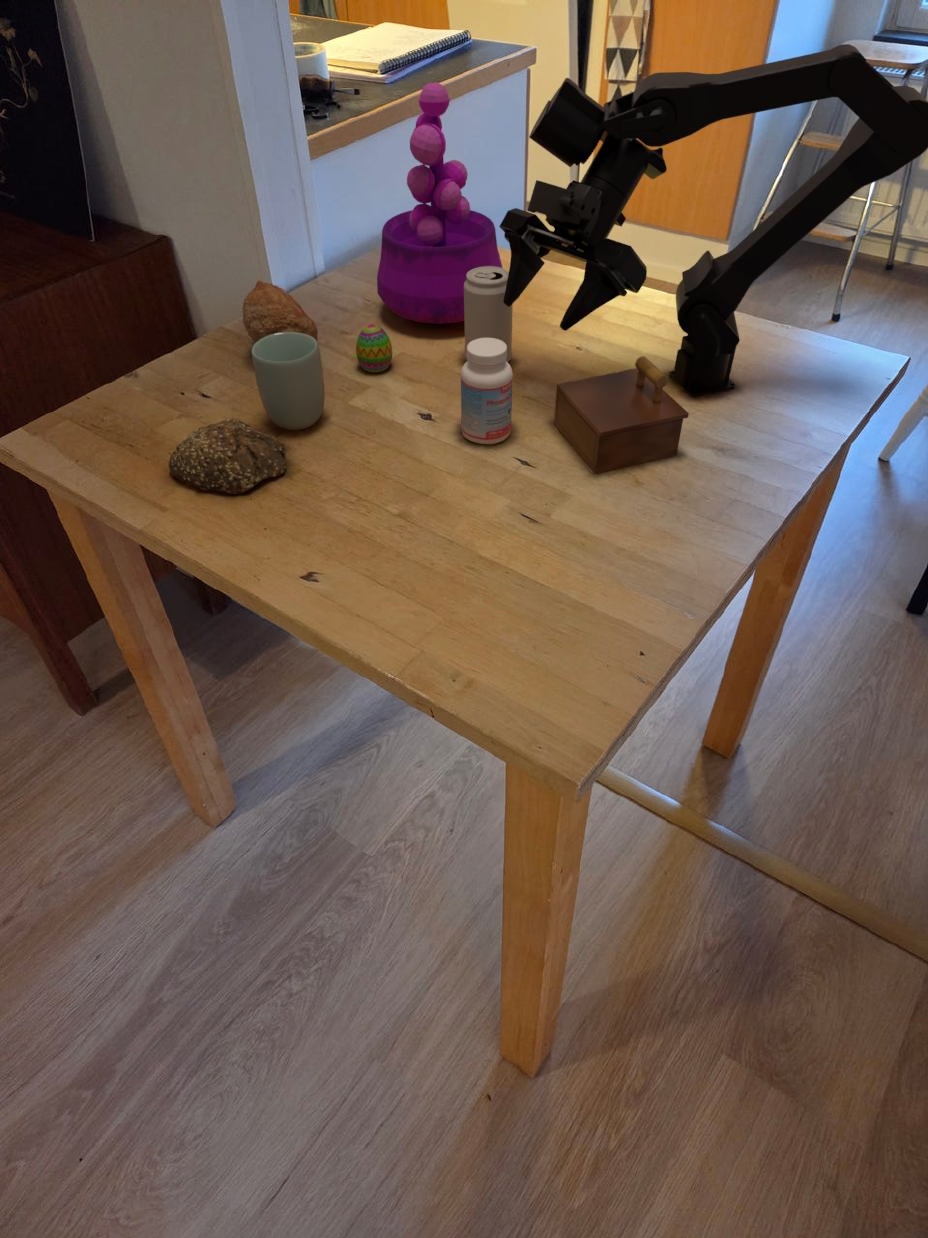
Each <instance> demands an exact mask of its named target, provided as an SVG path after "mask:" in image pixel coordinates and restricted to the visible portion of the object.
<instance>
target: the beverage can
mask: <svg viewBox="0 0 928 1238" xmlns="http://www.w3.org/2000/svg"><path fill="white" fill-rule="evenodd" d="M508 274H509V270H507V269H506V268H504V267H502V268H500V267H494V266H484V267H478V268H474V269H472V270H470V271H469V272H468V273H467V279H466V281H465V283H464V321H463V322H464V357H465V359H466V362H467V361H468V360H467V356H466V355H467V345H468V344H469V343H470V342H471V341H473V340H475V339H479V338H495V339H499V340H501V341H503V342H504V343H505V344H506V345H507V359H506V362H507V363H509V361H510V360H511V358H512V352H513V351H512V350H513V311H514V310H513V309H514V306H513V304H514V303H513V304H512V305H511V306H510V307H508V306H506V305H505V304H504V302H503V300H504V295H505V290H506V285H507V280H508Z"/></svg>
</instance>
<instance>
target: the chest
mask: <svg viewBox="0 0 928 1238" xmlns="http://www.w3.org/2000/svg"><path fill="white" fill-rule="evenodd" d="M554 403H555V404H554V415H553V416H554V420H553V424H554V426H555V427H556V428H557V429H558V430H559V432H560V433H561V434H562V436H564V438H565V439H566V440H567V441H568V443H569V444H570V445H571V446H572V447H573V449H575V451H576V452H577V453H578V455H579V456H580V457H581V458H582V459H583V460H584V462H585V463H586V464H587V466H588V467H589V468H590V469H591V470H592V471H593V473H594V474H600V473H604V472H605V473H606V472H610V471H613V470H617V469H622V468H626V467H631V466H636V465H639V464H643V463H649V462H652V461H656V460H657V461H658V460H661V459H665V458H669V457H674V456H677V454H678V450H679V444H680V438H681V434H682V428H683V423H684V419H680V420H675V421H671V422H666V423H662V424H657V425H653V426H648V427H643V428H639V429H634V430H630V431H625V432H621V433H616V434H611V435H607V436H602V437H599V436H598V435H597V433H596V432H595V431H594V430H593V429H592V428H591V427H590V426H589V424H588V423H587V422H586V421H585V420H584V419H583V418H582V417H581V415H580V414H579V413H578V412H577V411H576V410H575V409H574V408H573V406H572V405H571V404H570V403H569V402H568V401H567V400H566V399H565V397H564V396H563V395H562V394H561V393H560V392H559V391H558V390H557V388H555V402H554Z"/></svg>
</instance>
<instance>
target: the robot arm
mask: <svg viewBox="0 0 928 1238" xmlns="http://www.w3.org/2000/svg"><path fill="white" fill-rule="evenodd" d="M830 98H838V99H839V100H840V101H841V102H842V103H843V104H844V105H846V107H848V108H849V109H850V110H851V112H853V113H854V114H855V115H856V116H857V117H858V119H857V120H856V121H855V122H854V124H853V125H852V126H851V128H850V129H849V131H848V133H847V135H846V136H845V138H844V139H843V141H842V143H841V145H840V146H839V148H838V150H837V151H836V152H835V154H834V155H833V156H832V157H831V158H830V159H829V160H828V161H827V162H825V164H824V165H822V167H821V168H819V169H818V170H817V171H816V172H815V173H814V174H812V176H811V177H809V179H807V180H806V181H805V182H804V183H803V184H802V185H800V187H799V188H798V189H796V191H794V192H793V193H792V194H791V195H790V196H789V197H788V198H787V199H786V200H785V201H783V202H782V203H781V204H780V205H779V206H778V207H777V208H776V209H775V210H774V211H773V212H772V213H770V214H769V215H768V216H767V217H766V218H765V219H764V220H763V221H762V222H760V224H759V225H758V226H756V228H754V229H753V230H752V231H751V232H750V233H748V235H747V236H746V237H745V238H743V240H742V241H740V242H739V243H738V244H737V245H736V246H735V247H734V248H733V249H731V250H730V251H728V252H727V253H724V254H722V255H719V256H717V257H715V258H714V256H713V255H712V253H711V252H710V250H706V251H705V252H704V253H703V254H702V255H701V256H700V257H699V259H698V260H697V261H696V262H695V264H694V265H692V266H691V267H690V268H688V269H685V270H683V271H682V272H681V277H682V279H681V281H679V283H678V285H677V287H676V291H675V306H676V307H675V308H676V319H677V321H678V325H679V327H680V329H681V330H682V332H683V333H685V334H686V335H683V336H682V338H681V344H680V348H679V349H677V352H676V358H675V364H674V370H670V371H669V372H668V378H669V379H672V380H673V381H674V382H675V383H676V385H678V386H679V387H680V388H681V389H682V390H683V391H685V392H686V393H687V394H688V395H689V396H690V397H692V398H698V397H703V396H709V395H712V394H713V395H714V394H718V393H723V392H727V391H732V390H735V389H736V383H735V382H734V381H732V380H731V379H730V377H731V373H732V369H733V368H732V367H733V364H734V359H735V355H736V350H737V346H738V345H739V343H740V341H741V340H740V334H739V329H738V325H737V320H736V315H735V312H736V310H737V309H738V308H739V306H740V304H741V303H742V301H743V299H744V297H745V296H746V294H747V292H748V291H749V289H750V288H751V286H752V285H753V284H754V282H755V281H756V280H758V279H759V278H760V277H762V275H763V274H765V273H766V272H767V271H768V270H769V269H771V267H772V266H773V265H775V264H776V263H777V262H778V261H780V259H782V258H783V256H785V255H786V254H787V253H789V251H791V250H792V249H793V248H794V247H795V246H796V245H798V243H800V242H801V241H802V240H803V239H804V238H806V236H808V235H809V234H810V233H811V232H813V230H815V228H817V227H818V226H819V225H820V224H822V222H824V221H825V220H826V219H827V218H828V217H830V216H831V215H832V214H833V213H834V212H835V211H836V210H837V209H839V207H841V206H842V205H843V204H844V203H846V201H848V199H850V198H851V197H852V196H853V195H854V194H855V193H857V192H858V191H859V190H861V189H862V188H864V187H866V186H868V185H871V184H874V183H875V182H878V181H880V180H882V179H884V178H887V177H889V176H892V175H893V174H895V173H896V172H898V171H900V170H901V169H902V168H904V167H905V166H907V165H909V164H910V163H911V162H913V161H915V160H916V159H918V158H920V157H921V156H922V155H923V154H924V153H925V152H926V151H927V150H928V100H927V99H926V98H925V97H924V96H923V95H922V94H921V92H919V91H918V90H917V89H916V88H915V87H912V86H909V85H896V86H895V85H893V84H892V83H891V82H890V81H889V79H887V78H886V77H884V75H883V74H881V72H879V71H878V70H877V69H876V68H875V67H873V65H871V64H870V63H869V62H868V61H867V59H866V57H865V56H864V55H863V54H862V53H861V52H860V51H859V49H858V48H857V47H856V46H854V45H852V44H849V43H845V44H843V43H842V44H839V45H836V46H834V47H833V48H831V49H827V50H823V51H819V52H814V53H809V54H805V55H799V56H794V57H791V58H786V59H781V60H776V61H772V62H767V63H762V64H758V65H757V64H756V65H754V66H747V67H743V68H739V69H734V70H729V71H726V72H721V73H703V72H701V73H700V72H691V71H672V72H671V71H669V72H667V71H665V72H655V73H651V74H650V75H647V76H645V77H644V78H643V79H642V80H641V81H640V82H639V83H638V85H637V86H636V88H635V90H633V91H632V92H629V93H626V94H624V95H622V96H620V97H616V98H613V99H612V100H610V101H607V102H605V103H604V104H603V105H601V104H600V103H598V102H597V101H596V100H595V99H593V98H592V97H591V96H589V95H588V94H587V93H586V92H584V91H583V90H582V89H581V88H580V86H579V85H578V84H577V83H576V82H575V81H573V80H572V79H571V78H569V77H565V78H564V79H563V81H562V83H561V85H560V86H559V87H558V89H557V90H556V92H554V94H553V96H552V97H551V99H550V100H547V102H546V104H545V105H544V107H543V109H542V111H541V113H540V114H539V116H538V118H537V120H536V121H535V124H534V125H533V127H532V129H531V131H530V134H529V136H528V138H529V139H530V140H532V141H533V142H534V143H536V144H537V145H539V146H540V147H541V148H543V149H544V150H545V151H547V152H548V153H549V154H551V155H552V156H553V157H555V158H557V159H558V160H560V162H562V163H563V164H565V165H566V166H567V167H568V168H571V167H573V165H575V166H577V167H579V166H580V164H581V165H585V164H586V163H587V161H588V160H589V158H591V156H592V154H593V153H594V151H595V150H596V149H597V147H598V145H599V143H600V141H601V142H602V143H601V145H600V147H598V148H599V149H598V150H597V152H596V154H595V156H594V157H593V159H592V161H591V163H590V165H588V166H589V167H588V168H587V170H586V171H585V174H584V175H583V177H582V178H581V180H580V181H577V180H572V181H571V182H569V183H568V185H567V186H566V188H565V187H561V186H558V185H555V184H552V183H548V182H545V181H541V180H538V179H536V180H535V183H534V186H533V190H532V192H531V196H530V200H529V203H528V207H527V210H523V209H520V208H517V207H515V208H511V209H509V210H507V211H506V214H505V215H504V217H503V219H502V221H501V223H500V224H499V226H498V227H499V229H500V230H502V231H503V232H504V239H505V240H506V241H507V243H509V250H510V261H509V269H508V271H509V274H508V280H507V285H506V290H505V295H504V300H503V302H504V304H505V305H506V306H508V307H510V306H511V305H512V304H514V303H515V302H516V301H517V300H518V299H519V297H520V296H521V295H522V293H523V292H524V291H525V290H526V289H527V287H528V286H529V284H530V283H531V282H532V281H533V279H534V278H535V277H536V275H538V273H539V271H541V270H542V268H543V266H544V265H545V264H546V263H545V261H544V260H543V259H542V258H543V257H545V256H548V255H549V253H550V252H551V251H553V252H556V253H558V254H561V255H563V256H567V257H569V258H573V259H574V260H578V261H580V262H582V263H583V262H584V263H585V267H584V274H583V280H582V282H581V284H580V286H579V287H578V289H577V291H576V292H575V293H574V296H573V297H572V300H571V302H570V303H569V305H568V307H567V309H566V310H565V312H564V314H563V317H562V319H561V321H560V323H559V328H560V329H561V330H562V331H565V332H566V331H568V330H570V329H572V327H574V326H575V325H576V324H578V323H580V322H581V321H582V320H584V319H585V318H586V317H588V316H589V315H590V314H591V313H593V312H595V311H596V310H598V309H599V308H600V307H602V306H604V305H606V304H607V303H609V302H610V301H612V300H614V299H615V298H617V297H626V295H627V294H628V291H629V292H631V293H635V294H638V293H639V292H640V290H641V289H642V287H643V286H644V284H645V282H646V280H647V275H648V270H647V266H646V264H645V263H644V262H643V260H642V259H641V257H640V256H639V255H638V254H637V252H636V250H635V249H634V248H633V247H632V245H629V244H627V243H623V242H621V241H617V240H613V239H611V238H608V237H609V235H610V233H611V232H612V230H613V228H614V227H615V226H618V227H623V225H624V223H625V221H626V220H627V218H626V216H625V215H624V214H623V211H624V210H625V207H626V205H627V204H628V202H629V200H630V198H631V197H632V195H633V194H634V191H635V190H636V188H637V186H638V185H639V183H640V182H641V180H642V178H643V176H644V175H646V176H647V177H648V178H649V179H651V180H655V179H656V178H659V177H660V176H662V175H663V174H665V173H667V172H668V171H667V170H668V169H667V168H668V167H667V165H666V161H665V159H664V148H663V146H666V145H669V144H672V143H674V142H677V141H679V140H683V139H684V138H687V137H689V136H693V135H694V134H695V133H697V132H699V131H701V130H703V129H705V128H706V127H708V126H710V125H712V124H714V123H717V122H719V121H722V120H726V119H727V120H728V119H732V118H738V117H742V116H747V115H751V114H756V113H761V112H767V111H771V110H776V109H780V108H785V107H790V106H796V105H800V104H801V105H802V104H805V103H810V102H816V101H821V100H826V99H830ZM651 148H655V149H651ZM535 213H539V214H542V215H545V221H546V223H547V224H548V225H549V226H551V227H552V228H553V229H554V230H550V229H549V228H548V226H547V225H546V224H545V223H544V222H543V221H542V220H541V218H539V217H538V215H537V214H535Z"/></svg>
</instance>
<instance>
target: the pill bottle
mask: <svg viewBox="0 0 928 1238" xmlns="http://www.w3.org/2000/svg"><path fill="white" fill-rule="evenodd" d="M466 356H467V359H466V362H465V363H464V364H463V365H462V367H461V370H460V424H461V427H460V430H461V433H462V436H463V437H464V438H465V439H467V440H469V442H470V441H471V442H472V443H476V444H479V445H494V444H498V443H500V442H503V441H505V440H506V439H507V438H508V437H509V436H510V434H511V432H512V414H513V413H512V412H513V411H512V409H513V381H514V380H513V379H514V378H513V373H514V372H513V369H512V366H511V364H510V363H509V362H506V359H507V345H506V344H505V343H504V342H503V341H501V340H499V339H495V338H479V339H475V340H473V341H471V342H470V343H469V344H468V345H467V355H466ZM467 360H468V361H467Z"/></svg>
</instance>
